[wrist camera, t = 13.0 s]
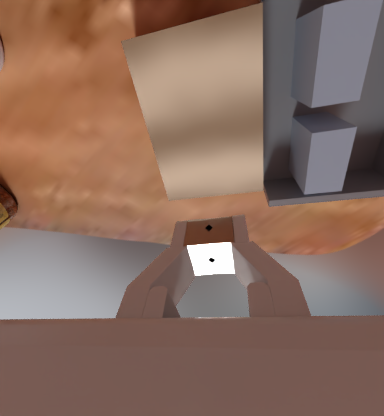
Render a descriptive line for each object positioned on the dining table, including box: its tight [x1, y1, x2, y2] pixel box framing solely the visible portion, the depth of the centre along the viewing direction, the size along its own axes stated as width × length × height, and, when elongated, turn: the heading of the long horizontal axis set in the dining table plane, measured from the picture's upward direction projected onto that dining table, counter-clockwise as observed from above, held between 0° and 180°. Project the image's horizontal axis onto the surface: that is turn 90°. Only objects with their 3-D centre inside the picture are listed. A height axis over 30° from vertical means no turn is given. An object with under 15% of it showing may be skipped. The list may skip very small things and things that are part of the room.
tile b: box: [288, 112, 357, 194], centre depth 16 cm, size 4×4×2 cm
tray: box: [260, 0, 384, 207], centre depth 15 cm, size 14×10×4 cm
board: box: [121, 2, 263, 201], centre depth 17 cm, size 12×8×3 cm
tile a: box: [291, 0, 383, 108], centre depth 13 cm, size 4×4×2 cm
